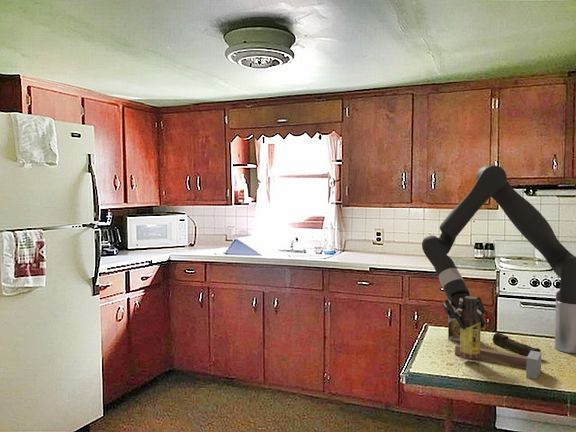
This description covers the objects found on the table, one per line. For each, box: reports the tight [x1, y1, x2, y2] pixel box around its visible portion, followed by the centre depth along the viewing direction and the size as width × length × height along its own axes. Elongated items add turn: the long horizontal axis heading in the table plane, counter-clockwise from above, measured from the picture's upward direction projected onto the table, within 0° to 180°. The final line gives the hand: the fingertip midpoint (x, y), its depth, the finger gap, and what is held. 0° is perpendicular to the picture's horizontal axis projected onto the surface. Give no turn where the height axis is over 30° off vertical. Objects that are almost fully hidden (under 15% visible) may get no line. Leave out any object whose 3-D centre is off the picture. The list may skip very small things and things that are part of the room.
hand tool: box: [492, 332, 542, 356], centre depth 170 cm, size 19×4×5 cm, turn 20°
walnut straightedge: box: [454, 343, 527, 369], centre depth 161 cm, size 2×23×3 cm, turn 55°
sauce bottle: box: [459, 295, 482, 360], centre depth 159 cm, size 6×6×20 cm
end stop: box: [525, 351, 542, 380], centre depth 149 cm, size 8×3×6 cm, turn 145°
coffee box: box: [447, 299, 464, 342], centre depth 183 cm, size 9×6×16 cm
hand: (474, 327), depth 158 cm, fingers closed on sauce bottle, 6 cm apart
